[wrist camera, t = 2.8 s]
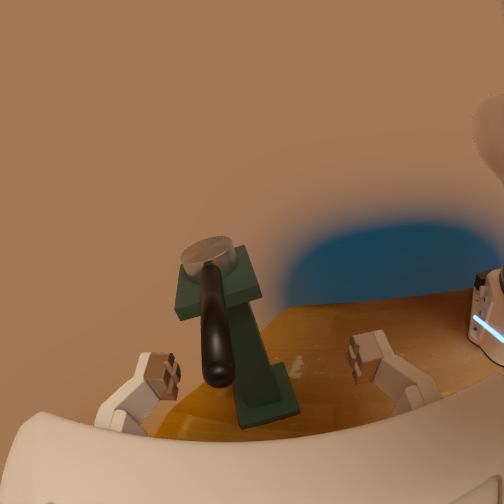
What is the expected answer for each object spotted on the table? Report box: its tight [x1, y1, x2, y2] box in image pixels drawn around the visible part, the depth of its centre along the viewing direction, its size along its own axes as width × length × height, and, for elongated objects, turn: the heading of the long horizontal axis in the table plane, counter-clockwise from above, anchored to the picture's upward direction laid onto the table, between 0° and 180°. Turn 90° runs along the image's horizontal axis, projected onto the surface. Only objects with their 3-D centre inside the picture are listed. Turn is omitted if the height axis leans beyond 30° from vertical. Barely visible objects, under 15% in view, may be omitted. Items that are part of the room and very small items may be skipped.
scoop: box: [181, 236, 238, 388], centre depth 22 cm, size 19×6×2 cm, turn 10°
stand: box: [175, 245, 301, 429], centre depth 33 cm, size 10×9×24 cm
